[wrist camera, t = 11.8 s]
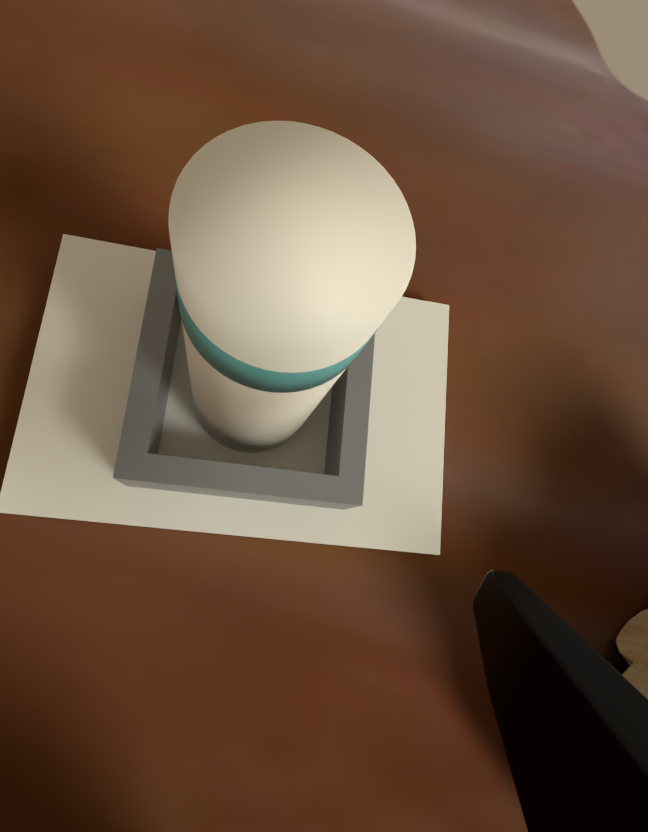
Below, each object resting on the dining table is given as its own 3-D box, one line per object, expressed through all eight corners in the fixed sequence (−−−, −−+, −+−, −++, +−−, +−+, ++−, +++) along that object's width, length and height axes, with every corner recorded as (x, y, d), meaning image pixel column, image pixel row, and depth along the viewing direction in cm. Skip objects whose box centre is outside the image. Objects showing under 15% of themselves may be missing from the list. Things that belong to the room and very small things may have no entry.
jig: (429, 554, 24) (472, 557, 20) (7, 513, 21) (-41, 507, 17) (439, 315, 27) (478, 276, 23) (70, 248, 24) (41, 190, 20)
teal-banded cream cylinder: (223, 473, 22) (238, 387, 10) (172, 367, 22) (123, 157, 10) (328, 423, 23) (458, 292, 11) (277, 325, 24) (348, 95, 11)
